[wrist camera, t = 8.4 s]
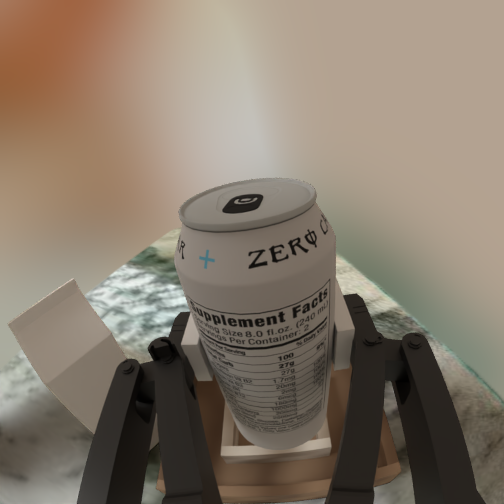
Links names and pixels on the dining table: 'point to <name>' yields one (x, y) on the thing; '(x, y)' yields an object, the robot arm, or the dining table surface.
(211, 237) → the energy drink can
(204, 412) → the walled box
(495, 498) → the dining table surface
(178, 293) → the dining table surface
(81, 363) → the milk carton
